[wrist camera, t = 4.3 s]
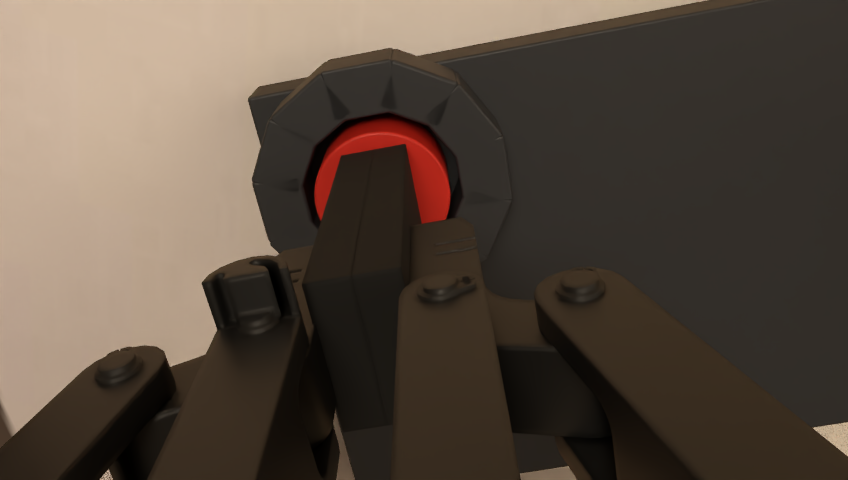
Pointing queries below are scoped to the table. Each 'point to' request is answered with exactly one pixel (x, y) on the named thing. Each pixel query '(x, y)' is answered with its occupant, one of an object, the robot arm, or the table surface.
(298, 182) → the black flat block
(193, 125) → the table surface
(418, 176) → the button
